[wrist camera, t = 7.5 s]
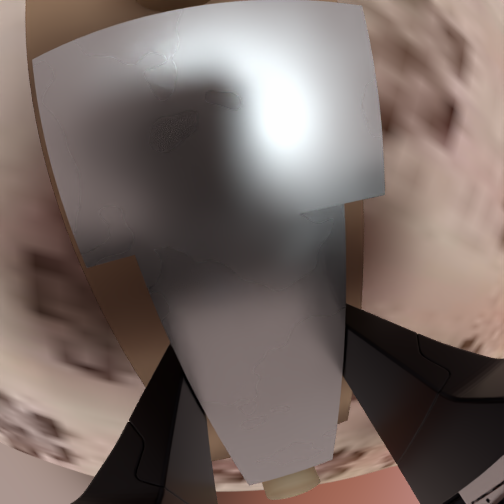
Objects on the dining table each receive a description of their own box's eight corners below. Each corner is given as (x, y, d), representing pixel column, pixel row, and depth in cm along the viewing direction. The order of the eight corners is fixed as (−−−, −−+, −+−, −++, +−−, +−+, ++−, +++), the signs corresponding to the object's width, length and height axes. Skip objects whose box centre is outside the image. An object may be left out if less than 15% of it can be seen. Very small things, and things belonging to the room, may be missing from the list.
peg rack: (338, 404, 18) (372, 465, 13) (198, 445, 17) (212, 514, 12) (304, -43, 7) (381, -107, 2) (41, 5, 6) (-33, -46, 1)
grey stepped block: (328, 407, 14) (351, 451, 11) (216, 440, 13) (228, 489, 10) (303, 36, 7) (361, 5, 4) (81, 78, 6) (32, 59, 3)
